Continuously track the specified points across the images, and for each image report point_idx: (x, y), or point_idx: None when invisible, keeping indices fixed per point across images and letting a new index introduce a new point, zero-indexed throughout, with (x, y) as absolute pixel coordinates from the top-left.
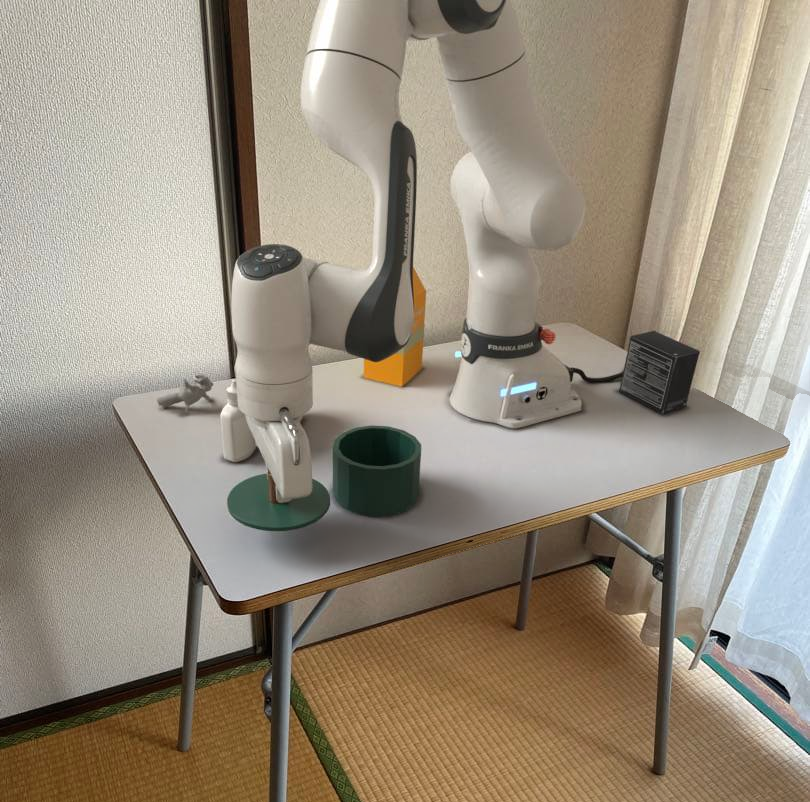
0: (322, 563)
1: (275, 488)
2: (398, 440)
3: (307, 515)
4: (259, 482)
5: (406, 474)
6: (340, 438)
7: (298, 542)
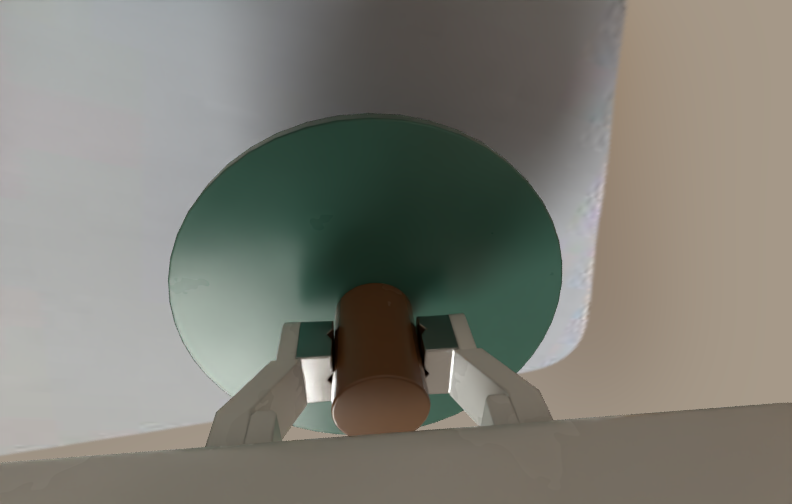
0: (549, 155)
1: (444, 392)
2: None
3: (522, 246)
4: (244, 353)
5: None
6: None
7: None
